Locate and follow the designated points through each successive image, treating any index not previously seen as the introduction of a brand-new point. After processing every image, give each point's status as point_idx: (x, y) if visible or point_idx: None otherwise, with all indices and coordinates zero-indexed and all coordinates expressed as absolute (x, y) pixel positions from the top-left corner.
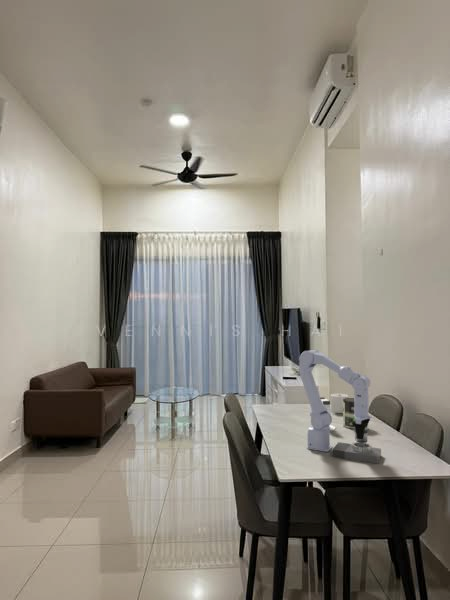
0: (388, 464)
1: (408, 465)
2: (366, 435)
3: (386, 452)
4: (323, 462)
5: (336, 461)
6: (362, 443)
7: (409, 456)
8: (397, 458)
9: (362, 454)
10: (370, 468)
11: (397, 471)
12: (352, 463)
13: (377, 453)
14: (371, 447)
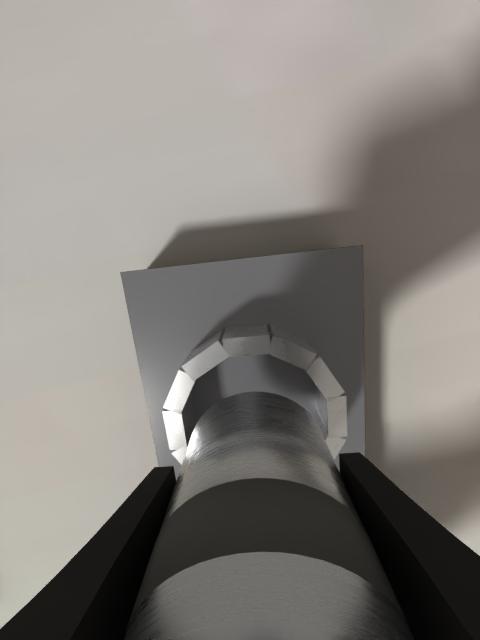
0: (304, 173)
1: (240, 15)
2: (294, 453)
3: (43, 255)
4: (472, 526)
5: (419, 475)
6: (186, 430)
7: (10, 64)
8: (125, 144)
9: (362, 365)
10: (454, 265)
11: (430, 66)
12: (410, 390)
13: (278, 263)
14: (233, 334)
